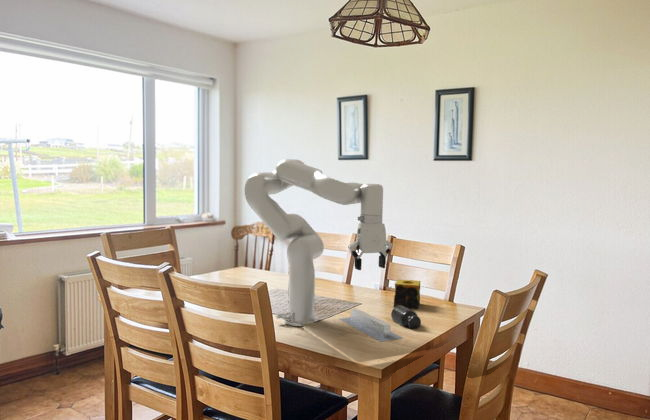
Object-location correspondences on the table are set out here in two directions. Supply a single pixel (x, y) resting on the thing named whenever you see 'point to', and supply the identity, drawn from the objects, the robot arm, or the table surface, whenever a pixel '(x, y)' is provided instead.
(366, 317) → the metal bar
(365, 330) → the board
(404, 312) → the supplement bottle
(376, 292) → the table surface
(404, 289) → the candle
